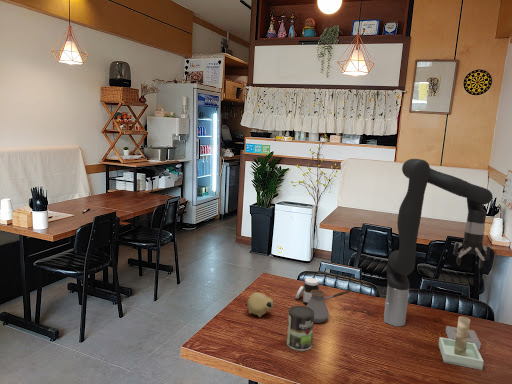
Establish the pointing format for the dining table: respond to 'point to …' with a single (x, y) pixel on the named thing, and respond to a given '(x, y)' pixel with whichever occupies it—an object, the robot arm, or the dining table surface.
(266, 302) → the toy pig
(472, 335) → the socket block
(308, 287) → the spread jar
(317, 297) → the coffee pot
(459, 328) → the dowel
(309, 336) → the coffee can
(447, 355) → the tray
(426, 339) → the dining table surface
